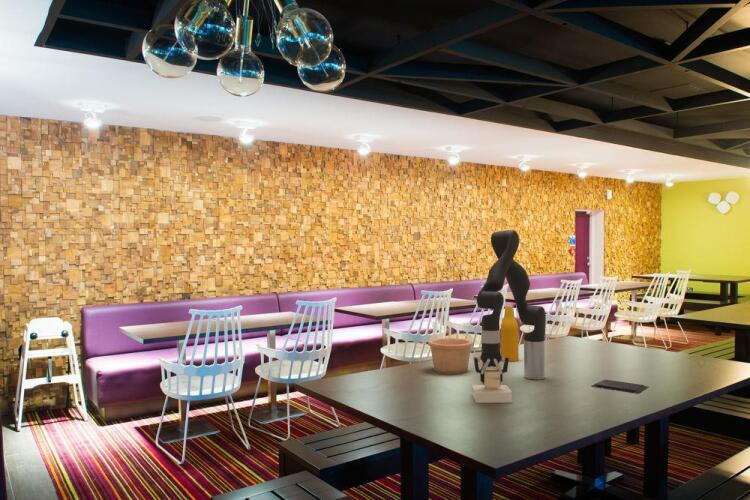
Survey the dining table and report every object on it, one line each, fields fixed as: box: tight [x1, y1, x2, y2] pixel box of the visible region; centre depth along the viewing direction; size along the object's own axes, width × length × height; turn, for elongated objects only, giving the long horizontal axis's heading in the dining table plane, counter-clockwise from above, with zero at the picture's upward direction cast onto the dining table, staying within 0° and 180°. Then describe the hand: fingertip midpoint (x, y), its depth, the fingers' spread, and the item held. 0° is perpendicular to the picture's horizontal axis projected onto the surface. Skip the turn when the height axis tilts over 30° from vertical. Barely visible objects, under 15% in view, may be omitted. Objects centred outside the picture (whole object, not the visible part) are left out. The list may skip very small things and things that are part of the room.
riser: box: [471, 384, 513, 404], centre depth 228 cm, size 12×14×4 cm
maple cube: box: [482, 368, 501, 387], centre depth 227 cm, size 6×6×6 cm
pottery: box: [427, 337, 474, 375], centre depth 280 cm, size 22×22×14 cm
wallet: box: [590, 379, 650, 395], centre depth 244 cm, size 20×2×15 cm
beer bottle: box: [500, 305, 520, 362], centre depth 304 cm, size 9×9×29 cm
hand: (491, 382), depth 228 cm, fingers closed on maple cube, 6 cm apart
